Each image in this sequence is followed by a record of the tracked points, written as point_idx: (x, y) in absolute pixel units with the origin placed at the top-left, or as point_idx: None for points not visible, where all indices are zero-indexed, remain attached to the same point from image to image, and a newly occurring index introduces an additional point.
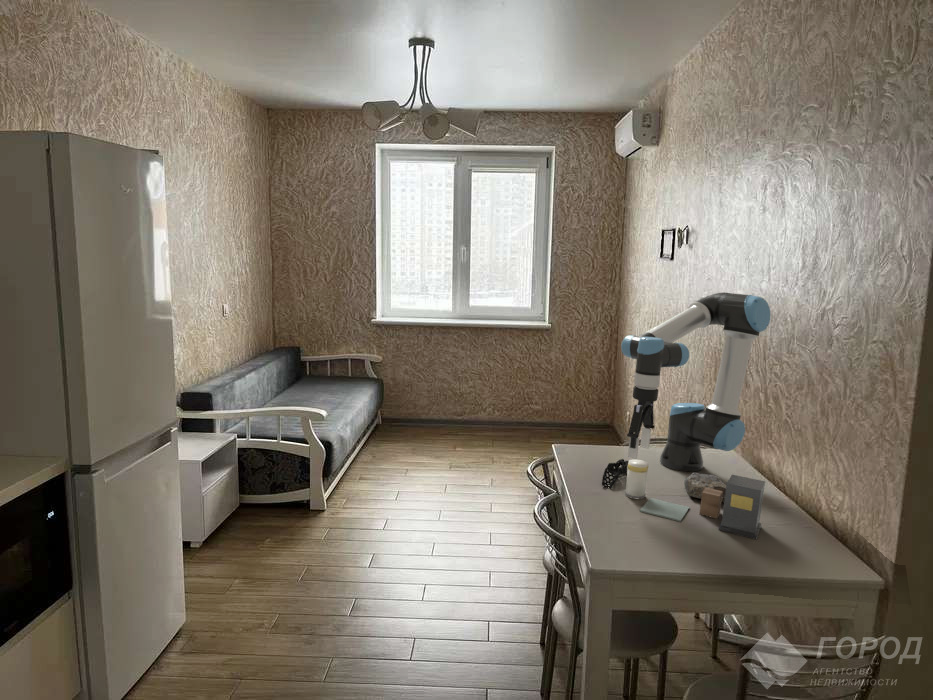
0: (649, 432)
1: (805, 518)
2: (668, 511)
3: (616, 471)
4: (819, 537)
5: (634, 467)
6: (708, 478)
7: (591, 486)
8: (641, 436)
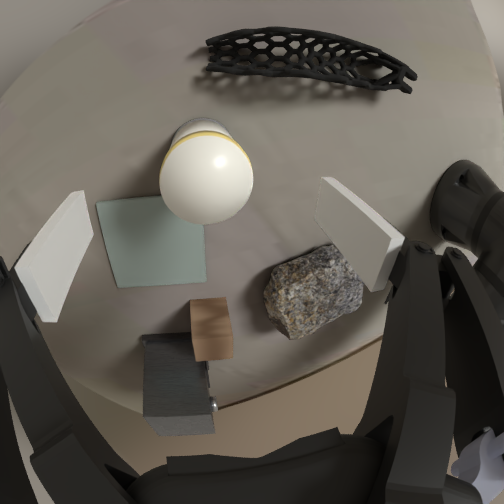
0: (361, 272)
1: (284, 379)
2: (141, 257)
3: (367, 60)
4: (226, 396)
5: (159, 178)
6: (330, 307)
7: (193, 16)
8: (354, 205)
